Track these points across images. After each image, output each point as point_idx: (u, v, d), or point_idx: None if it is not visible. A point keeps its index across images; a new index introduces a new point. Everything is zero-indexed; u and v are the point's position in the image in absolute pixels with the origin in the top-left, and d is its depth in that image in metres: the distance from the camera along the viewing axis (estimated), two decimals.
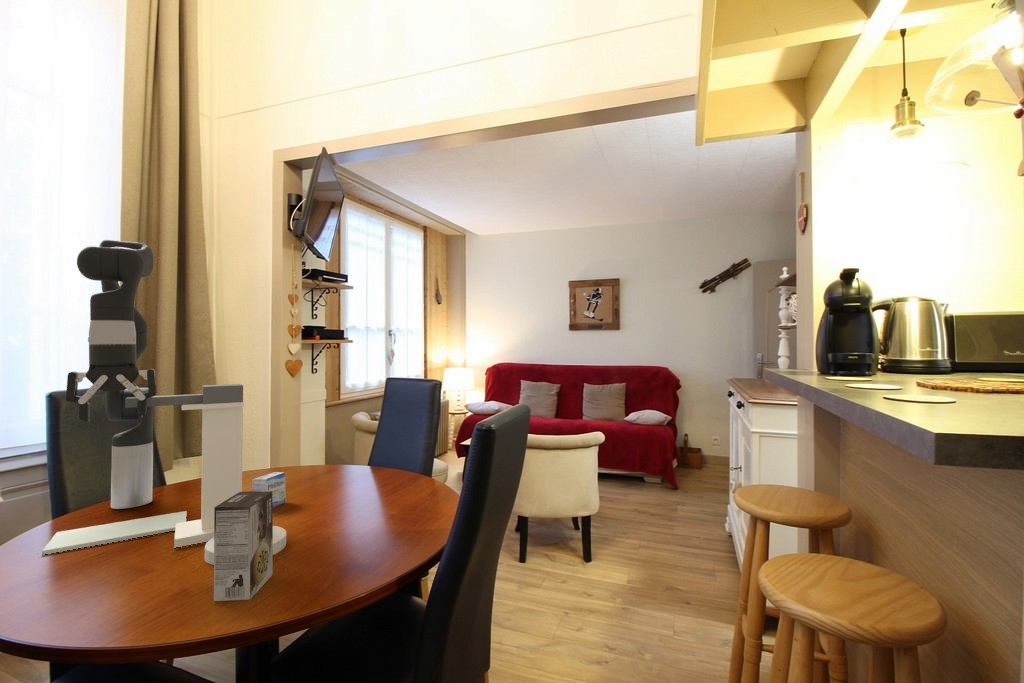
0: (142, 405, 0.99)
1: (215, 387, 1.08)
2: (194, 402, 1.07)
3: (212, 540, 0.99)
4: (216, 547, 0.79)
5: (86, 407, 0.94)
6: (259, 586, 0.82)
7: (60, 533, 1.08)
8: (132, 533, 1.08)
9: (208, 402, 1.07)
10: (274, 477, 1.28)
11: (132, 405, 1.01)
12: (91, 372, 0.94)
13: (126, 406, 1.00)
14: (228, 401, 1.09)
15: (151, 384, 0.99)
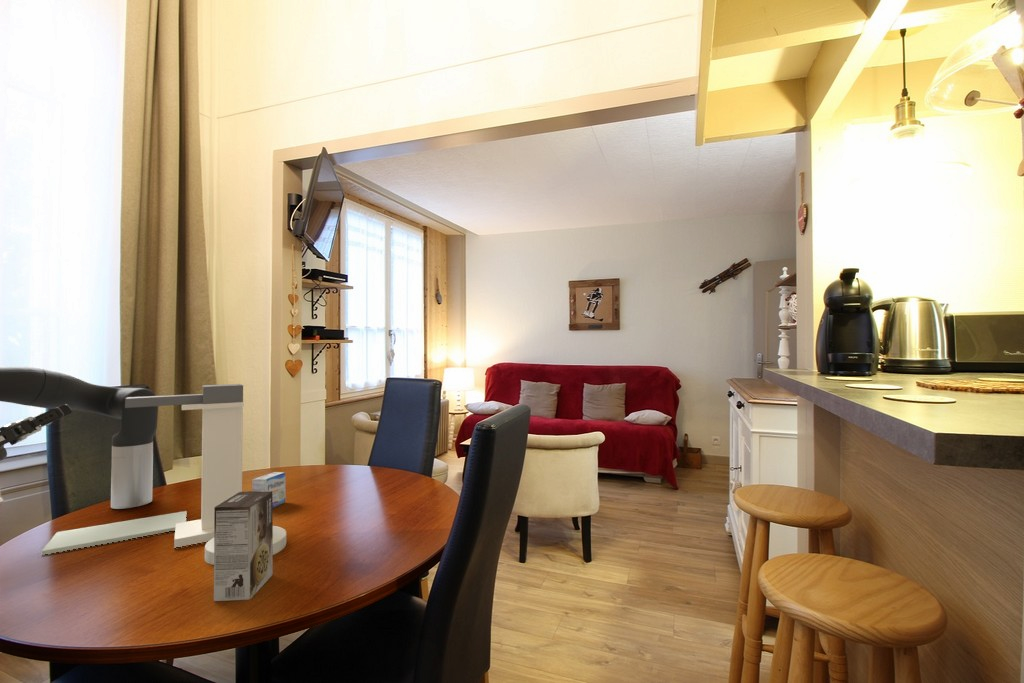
0: (47, 422, 0.91)
1: (215, 387, 1.08)
2: (194, 402, 1.07)
3: (212, 540, 0.99)
4: (216, 547, 0.79)
5: None
6: (259, 586, 0.82)
7: (60, 533, 1.08)
8: (132, 533, 1.08)
9: (208, 402, 1.07)
10: (274, 477, 1.28)
11: (132, 405, 1.01)
12: None
13: (126, 406, 1.00)
14: (228, 401, 1.09)
15: (17, 438, 0.87)
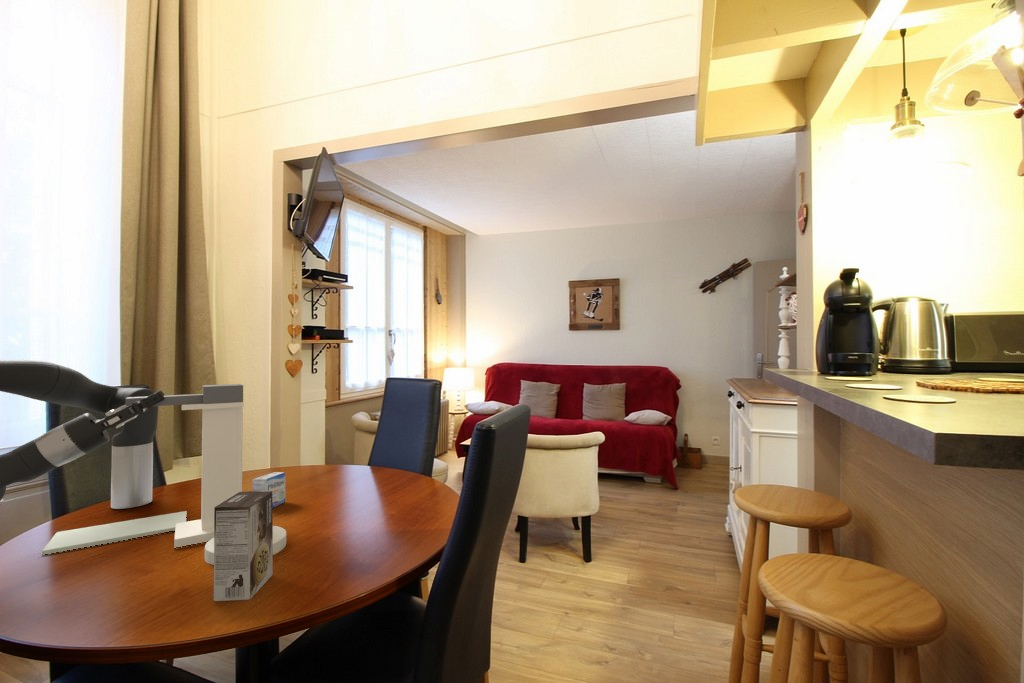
0: (151, 404, 1.02)
1: (215, 387, 1.08)
2: (194, 402, 1.07)
3: (212, 540, 0.99)
4: (216, 547, 0.79)
5: None
6: (259, 586, 0.82)
7: (60, 533, 1.08)
8: (132, 533, 1.08)
9: (208, 402, 1.07)
10: (274, 477, 1.28)
11: None
12: None
13: None
14: (228, 401, 1.09)
15: (129, 418, 0.98)
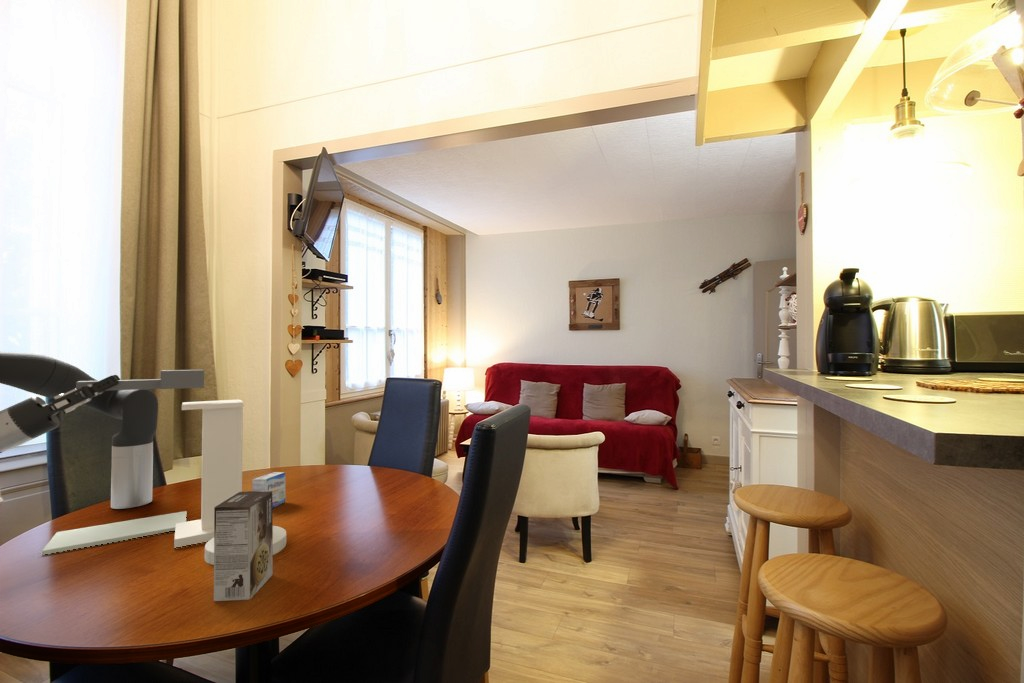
0: (104, 388, 0.97)
1: (174, 371, 1.03)
2: (151, 387, 1.03)
3: (212, 540, 0.99)
4: (216, 547, 0.79)
5: None
6: (259, 586, 0.82)
7: (60, 533, 1.08)
8: (132, 533, 1.08)
9: (166, 387, 1.03)
10: (274, 477, 1.28)
11: None
12: None
13: None
14: (187, 386, 1.05)
15: (78, 402, 0.93)
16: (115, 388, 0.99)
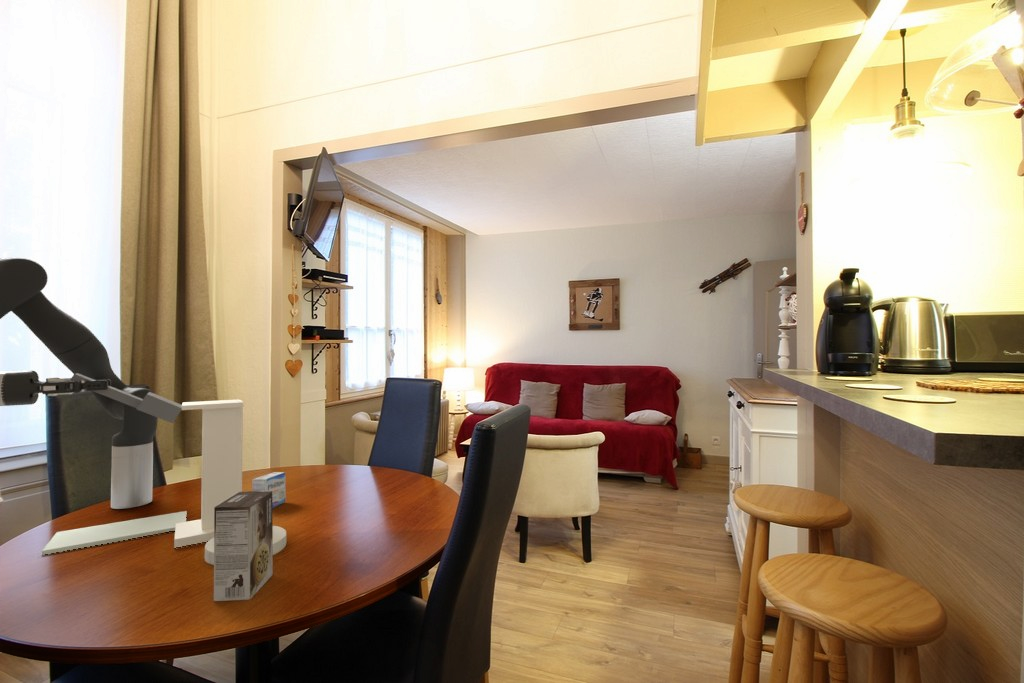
0: (92, 389, 1.06)
1: (157, 399, 1.12)
2: (130, 404, 1.10)
3: (212, 540, 0.99)
4: (216, 547, 0.79)
5: None
6: (259, 586, 0.82)
7: (60, 533, 1.08)
8: (132, 533, 1.08)
9: (141, 409, 1.10)
10: (274, 477, 1.28)
11: None
12: None
13: None
14: (159, 416, 1.12)
15: (63, 392, 1.02)
16: (101, 392, 1.07)
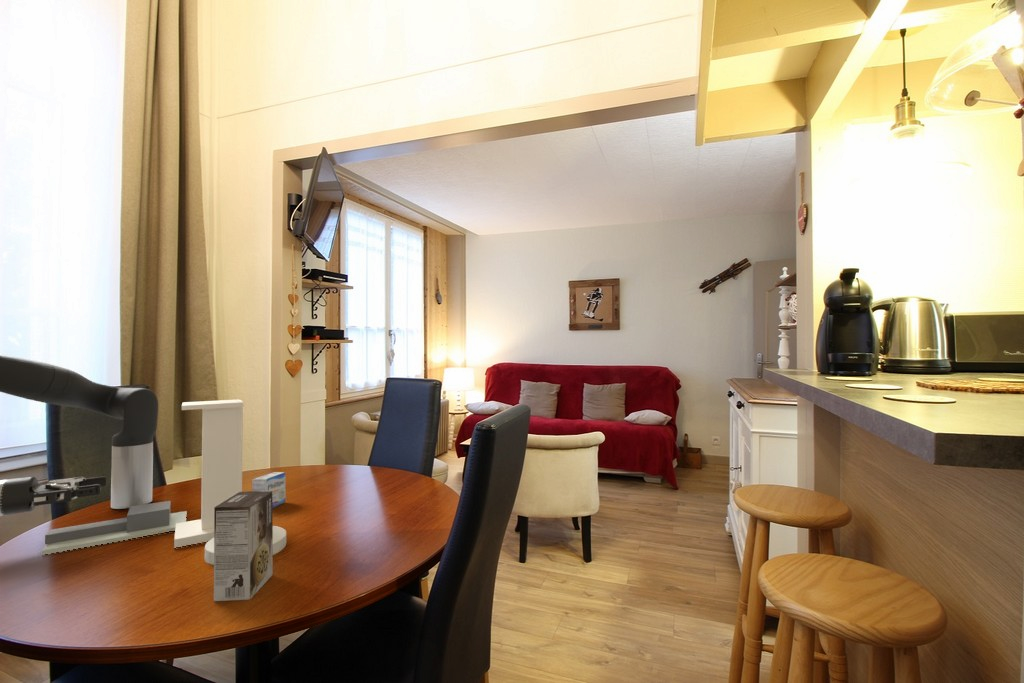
0: (84, 495, 1.03)
1: (139, 514, 1.09)
2: (118, 530, 1.08)
3: (212, 540, 0.99)
4: (216, 547, 0.79)
5: None
6: (259, 586, 0.82)
7: None
8: (132, 533, 1.08)
9: (132, 530, 1.08)
10: (274, 477, 1.28)
11: (52, 541, 1.02)
12: None
13: (46, 543, 1.02)
14: (153, 526, 1.11)
15: (54, 502, 0.99)
16: (83, 536, 1.05)
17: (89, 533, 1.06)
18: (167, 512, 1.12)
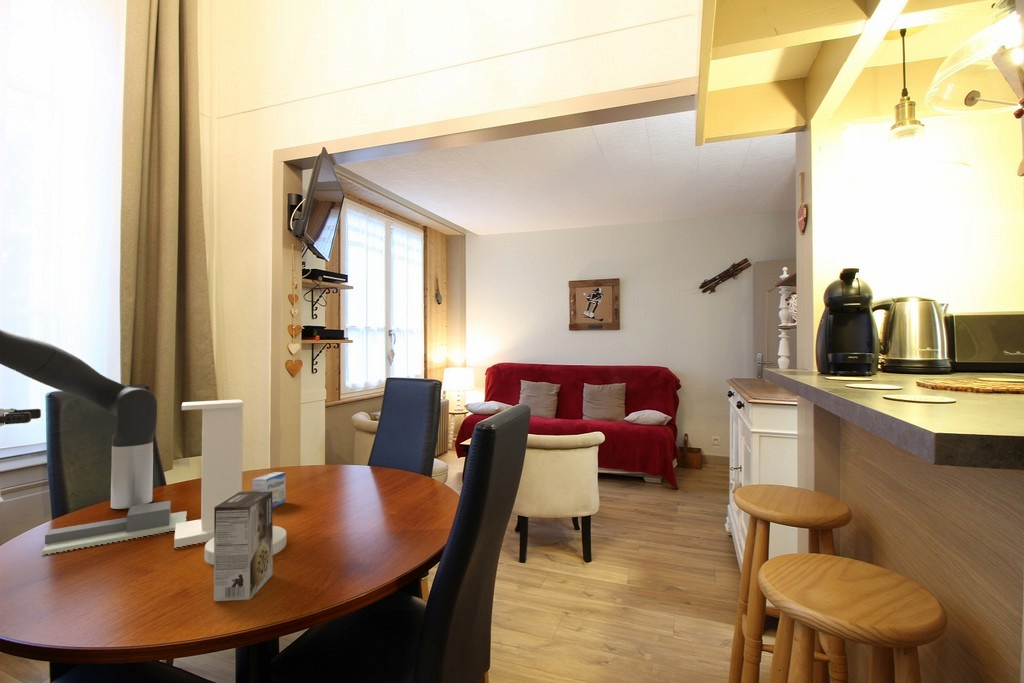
0: (11, 422, 0.97)
1: (139, 514, 1.09)
2: (118, 530, 1.08)
3: (212, 540, 0.99)
4: (216, 547, 0.79)
5: None
6: (259, 586, 0.82)
7: None
8: (132, 533, 1.08)
9: (132, 530, 1.08)
10: (274, 477, 1.28)
11: (52, 541, 1.02)
12: None
13: (46, 543, 1.02)
14: (153, 526, 1.11)
15: None
16: (83, 536, 1.05)
17: (89, 533, 1.06)
18: (167, 512, 1.12)
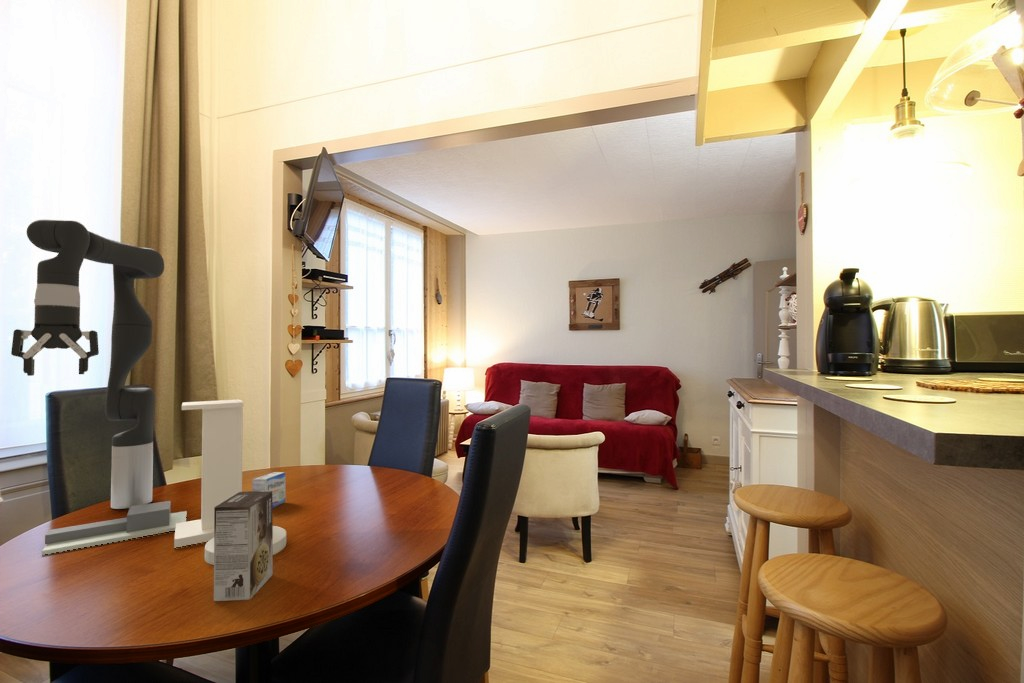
0: (83, 363, 1.09)
1: (139, 514, 1.09)
2: (118, 530, 1.08)
3: (212, 540, 0.99)
4: (216, 547, 0.79)
5: (30, 361, 1.04)
6: (259, 586, 0.82)
7: None
8: (132, 533, 1.08)
9: (132, 530, 1.08)
10: (274, 477, 1.28)
11: (52, 541, 1.02)
12: (36, 330, 1.05)
13: (46, 543, 1.02)
14: (153, 526, 1.11)
15: (93, 344, 1.10)
16: (83, 536, 1.05)
17: (89, 533, 1.06)
18: (167, 512, 1.12)
